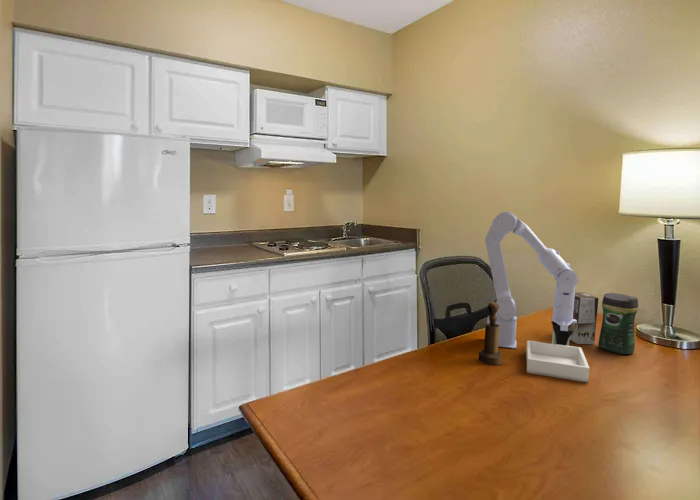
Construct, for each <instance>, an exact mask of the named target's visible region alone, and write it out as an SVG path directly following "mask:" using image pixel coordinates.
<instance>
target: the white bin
mask: <svg viewBox="0 0 700 500" xmlns="http://www.w3.org/2000/svg"><path fill="white" fill-rule="evenodd" d="M525 352H526V353H525V355H526V358H525V359H526V373H527V374H533V375H539V376H545V377H552V378H558V379H565V380H569V381H570V380H571V381H577V382H583V383H589V379H590V370H591V368H590V366H589V364H588V360H587V358H586V356H585V353H584V351H583V348H582V347H579V346H573V345H569V346H565V345H558V344H552V342H550V343H549V342H544V341H535V340H529V339H528V340H526V351H525Z"/></svg>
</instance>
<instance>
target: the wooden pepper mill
mask: <svg viewBox="0 0 700 500" xmlns="http://www.w3.org/2000/svg"><path fill="white" fill-rule="evenodd" d="M487 308H488V311H489V312H490V315H488V316H489V321H490V323H487V322H486V323H485V327H484V328H485V330H484V332H485V333H484V346H483V347H484V348H483V349H481V350H480V351H478V361H479V362H480V363H482V364H485V365H491V366H492V365H493V366H499V365H501V364H502V363H503V354H502V353H501V352H500V351H499V346H498V340H499V325H498V324H495V323H496V321H497V317H496V312H497V311H498V309H499V305H498V303H497V302H496V301H490V302H489V303H488V305H487Z"/></svg>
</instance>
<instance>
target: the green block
mask: <svg viewBox="0 0 700 500" xmlns="http://www.w3.org/2000/svg"><path fill="white" fill-rule="evenodd" d="M551 339H552V340H551V344H556V335H555V332H554V330H553V329H552V337H551ZM570 341H571V340H570V337H569V339H568V341H567V345H566V346H570Z"/></svg>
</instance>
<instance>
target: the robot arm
mask: <svg viewBox="0 0 700 500" xmlns="http://www.w3.org/2000/svg"><path fill="white" fill-rule="evenodd" d="M511 232H512V233H513V234H515V235H518V236H521V238H522V239H523V240H524V241H526V243H528V245H530V246H531V248H532V249H533V250H534V251H535V252H536V253H537V261H538V262H539V263H540V264H541V265H542V267H543V268H545V270H546V271H547V272H548V273H549V275H550V276H553V279H554V281H556V282H555V289H554V296H553V306H552V307H553V310H552V317H551V325H552V331H553V330H554V332H555V335H556V344H558V345H565V346H566V345H567V341H568V339H569V337H570V335H571V334H572V333H573V329H569V327H570V326H571V324H572V323H577V320H575V319H573V310H574V298H575V289H576V285H577V284H578V282H579V278H578V275H577V273H576V271H574V270H573V268H571V264H570V263H569V262H566V261H565V260H564V259H563V258H562V257H561V255H560V254H561V253H560V252H559V250H555V249H554V248H552V247H551V248H549V247H547V246H545V244H544V243H543V242H542V241H541V240H540V238H538V236H537V235H536V234H535V233H534V232H533V230H531V228H530V227H529V226H528V225H527V224H526V223H524V221H522V220H521V219H520V218H518V217H517V216H516V215H515V214H514V213H513V212H511V211H501V212H500V213H499V214H497V215H496V217H495V218H494V219H493V221H492V222H491V225H490V227H489V229H488V231H487V233H486V235H485V239H484V242H485V246H486V247H485V248H486V251H487V256H488V257H487V258H488V262H489V266H490V271H491V277H492V280H493V281H492V282H493V287H494V290H495V295H496V296H495V298H496V301H495V302H497V303H498V305H499V309H498V311H497V312H496V317H497V321H496V323H495V324H498V325H499V340H498V347H501V348H509V349H514V350H515V349H517V341H518V340H516V336H517V323H518V322H517V321H518V317H517V316H516V315H517V313H518V312H517V311H518V309H517V305H516V301H515V300H514V298H513V296H512V295H511V290H510V285H509V280H508V275H507V271H506V266H505V265H506V264H505V261H504V255H503V251H502V247H501V243H502V241H503V239H504V238H505V237H506V235H508V234H509V233H511ZM489 316H490V315H487V319H486V324H487V323H490V321H489Z"/></svg>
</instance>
